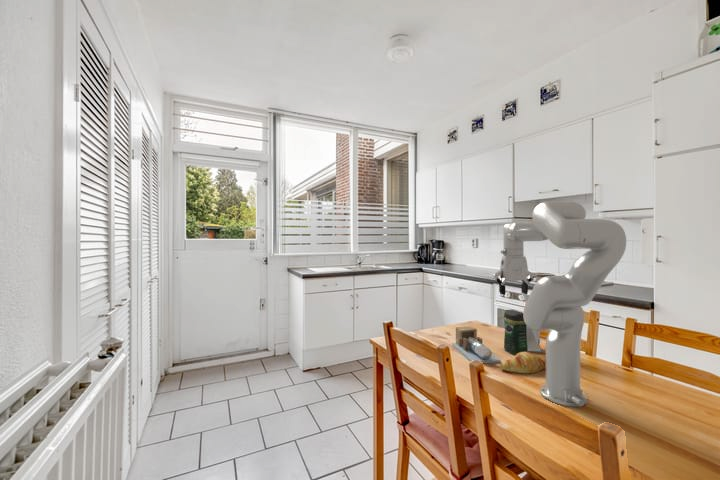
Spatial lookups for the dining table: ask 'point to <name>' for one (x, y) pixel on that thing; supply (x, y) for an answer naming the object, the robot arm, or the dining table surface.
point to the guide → (465, 343)
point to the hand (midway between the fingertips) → (513, 293)
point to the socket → (465, 334)
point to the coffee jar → (515, 332)
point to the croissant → (524, 363)
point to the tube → (479, 348)
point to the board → (475, 355)
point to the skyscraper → (532, 335)
